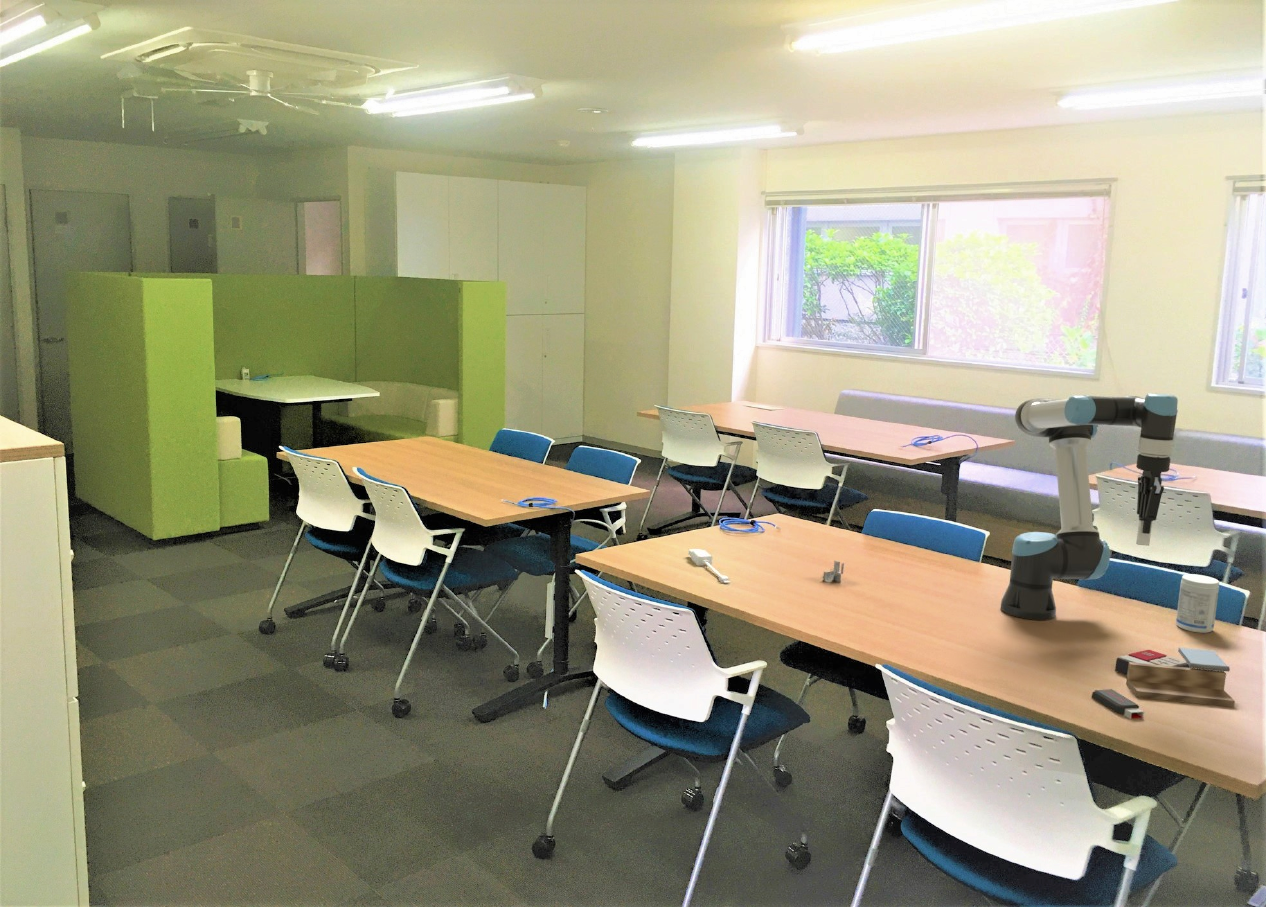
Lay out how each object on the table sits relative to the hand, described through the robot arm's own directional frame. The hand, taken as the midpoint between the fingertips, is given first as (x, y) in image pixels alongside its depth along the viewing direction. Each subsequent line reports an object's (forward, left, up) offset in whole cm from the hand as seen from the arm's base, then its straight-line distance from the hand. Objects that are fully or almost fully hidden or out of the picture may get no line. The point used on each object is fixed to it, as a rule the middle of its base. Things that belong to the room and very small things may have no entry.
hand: (1142, 544), depth 261 cm
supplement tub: (+25, +27, -29) cm, 47 cm away
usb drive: (-14, -41, -30) cm, 52 cm away
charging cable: (-116, +44, -30) cm, 128 cm away
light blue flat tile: (+10, -21, -23) cm, 33 cm away
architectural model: (-75, +38, -30) cm, 89 cm away
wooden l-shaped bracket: (+3, -29, -29) cm, 41 cm away
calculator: (+1, -14, -30) cm, 33 cm away
